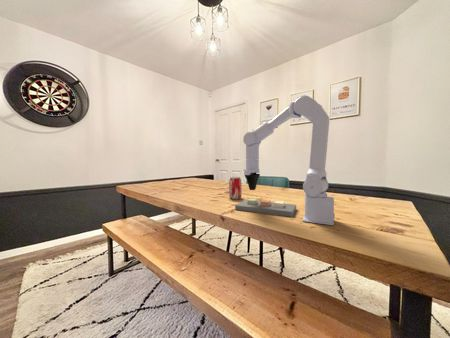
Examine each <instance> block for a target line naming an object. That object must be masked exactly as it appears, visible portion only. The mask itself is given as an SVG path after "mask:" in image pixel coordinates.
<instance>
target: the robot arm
mask: <svg viewBox="0 0 450 338" xmlns="http://www.w3.org/2000/svg"><path fill="white" fill-rule="evenodd" d="M302 117H304V118H306V119H307V120H308V121H309V122H310V123H312V131H311V132H312V133H311V143H310V144H311V145H310V155H309V168H308V170H307V173H306V177H305V180H304V181H303V184H302V189H303V191H304V214H303V217H302V222H306V223H313V224H320V225H328V226H334V223H335V222H334V221H335V220H334V219H335V211H334V210H335V200H334V199H335V197H333V196H328V194H327V192H326V191H327V190H328V188H329V182H328V180H327V174H328V173H327V171H326V163H327V152H328V151H327V150H328V141H329V130H330V116H329V115H328V114H327V112H326V111H325V109H324V108H323V106H322V105H321V104H320V103H318V101H316V100H315V99H314V98H312V97H311V96H309V95H300V96H299V97H297V98H296V99H295V100H293V101H291V102H290V104H289V105H288V106H287V107H286V108H285V109H283V111H281V112H280V113H278V115H276V116H275V117H274V118H272V119H271V120H270V121H265V122H261V123H260V125H259V126H258V127H256V128H255V129H253V130H252V131H247V132H246V133H245V134H244V136H243V138H242V139H243V141H242V142H243V143H244V144H245V168H243V172H244V173H243V174H244V177H245V179H246V182H247V185H248V189H249V191H255V190H256V189H257V185H258V181H259V179H260V178H259V177H260V176H261V175H260V174H261V173H260V167H259V166H260V165H259V163H260V162H259V161H260V159H259V158H260V153H259V152H260V144H261V143H262V141H263V140H265V139H267V138H268V137H269V136H271V135H273V134H274V131H275V129H276V128H278V127H279V126H281V125H282V124H284V123H287V121H289V120H291V119H301V118H302Z"/></svg>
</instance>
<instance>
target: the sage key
mask: <svg viewBox="0 0 450 338" xmlns="http://www.w3.org/2000/svg"><path fill="white" fill-rule="evenodd" d="M246 200H247V204H249V205H257V204H258V201H259V200H258V199H257V198H249V199H246Z"/></svg>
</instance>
